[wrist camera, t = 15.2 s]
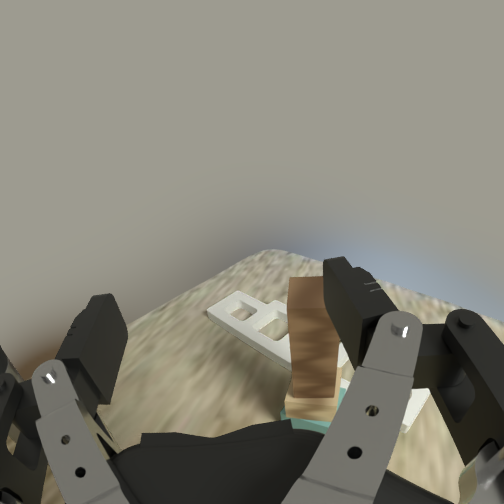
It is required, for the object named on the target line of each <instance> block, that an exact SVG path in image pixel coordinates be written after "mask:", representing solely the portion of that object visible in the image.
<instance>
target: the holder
mask: <svg viewBox="0 0 504 504" xmlns="http://www.w3.org/2000/svg"><path fill="white" fill-rule="evenodd" d="M239 308H242V309H244V310H246V311H247V312H249V313H251V314H253V315H252V316H251V317H249V318H248V319H246V320H244V321H240V320H238V319H237V318H235V317H233V316H232V315H230V314H231V313H232V312H234V311H235V310H237V309H239ZM207 313H208V317H209V319H210V320H212V321H213V322H215V323H216V324H218V325H219V326H221V327H222V328H224V329H225V330H227V331H228V332H230V333H231V334H233V335H234V336H236V337H237V338H239V339H240V340H242V341H243V342H245V343H246V344H248V345H249V346H251V347H252V348H254V349H256V350H257V351H259V352H260V353H262V354H263V355H265V356H267V357H268V358H270V359H271V360H273V361H275V362H276V363H278V364H280V365H281V366H283V367H284V368H286V369H288V370H289V371H291V372H292V366H291V354H290V342H289V333H288V334H287V335H286V336H284V337H283V338H282V339H281V340H279V341H274V340H272V339H270V338H269V337H267V336H265V335H264V334H262V333H260V332H258V331H259V330H260V329H261V328H263V327H264V326H265V325H267V324H268V323H269V322H271V321H272V320H274V319H280V320H282V321H284V322H286V323H288V319H287V305H285V304H283V303H281V302H279V301H277V300H273V301H272V302H271V303H269V304H265V303H263V302H261V301H259V300H257V299H255V298H253V297H251V296H249V295H247V294H245V293H243V292H241V291H239V290H237V291H236V292H234V293H232V294H231V295H229V296H227V297H226V298H224V299H223V300H221V301H219V302H218V303H216V304H214V305H213V306H211V307H209V308H208V309H207ZM339 339H340V338H339ZM348 359H349V357H348V355H347V353H346V351H345V348H344V346H343V344H342V342H341V343H340V344H339V352H338V364H337V367H342V366H343V365H344V363H345V362H346V361H347V360H348ZM349 384H350V382H348V381H346V380H345V379H343V378H341V384H340V387H341V388H345V389H346V391H347V389H348V386H349ZM429 395H430V391H429V389H428V388H425V389H412V390H411V393H410V397H409V401H408V405H407V408H406V412H405V415H404V419H403V422H402V425H401V428H400V432H402V433H406V432H407V431H408V430H409V428H410V426H411V425H412V423H413V422H414V420H415V418H416V417H417V415H418V414H419V412H420V410H421V408H422V407H423V405H424V403H425V402H426V400H427V398H428V396H429Z"/></svg>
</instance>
